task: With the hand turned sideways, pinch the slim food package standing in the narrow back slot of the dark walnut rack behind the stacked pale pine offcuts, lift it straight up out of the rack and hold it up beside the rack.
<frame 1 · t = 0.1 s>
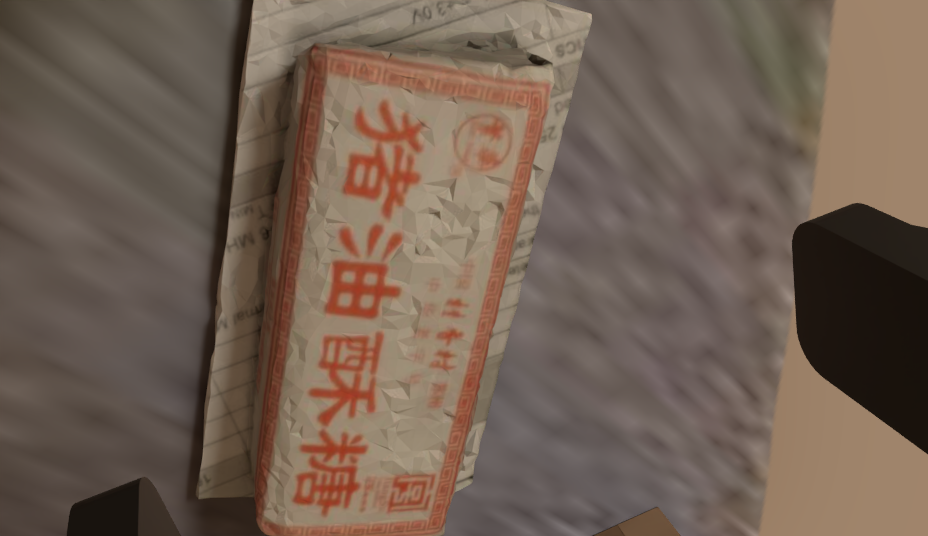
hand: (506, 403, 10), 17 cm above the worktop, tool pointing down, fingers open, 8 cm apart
packaged product: (372, 250, 29), on the worktop
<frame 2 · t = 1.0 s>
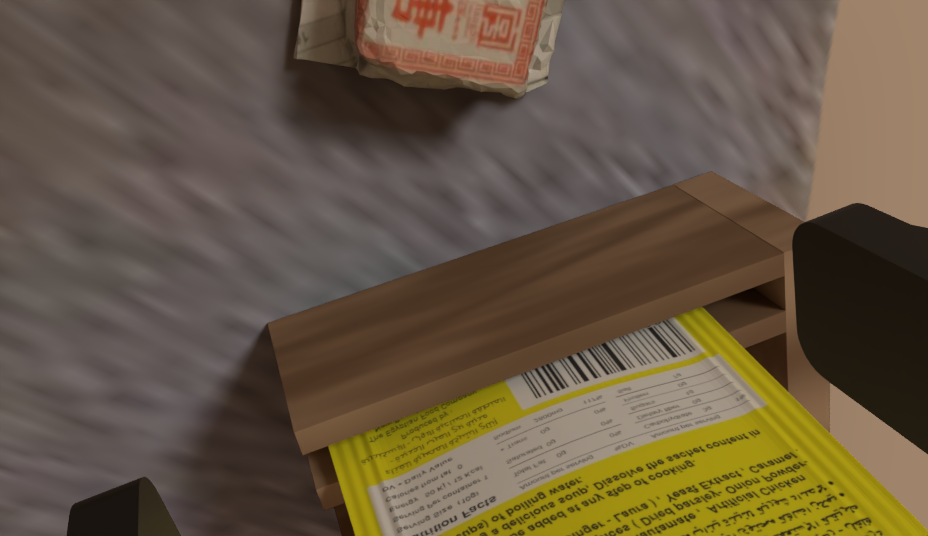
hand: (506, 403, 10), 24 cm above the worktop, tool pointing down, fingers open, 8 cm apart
food package: (462, 277, 38), resting in walnut rack
walnut rack: (500, 341, 40), on the worktop
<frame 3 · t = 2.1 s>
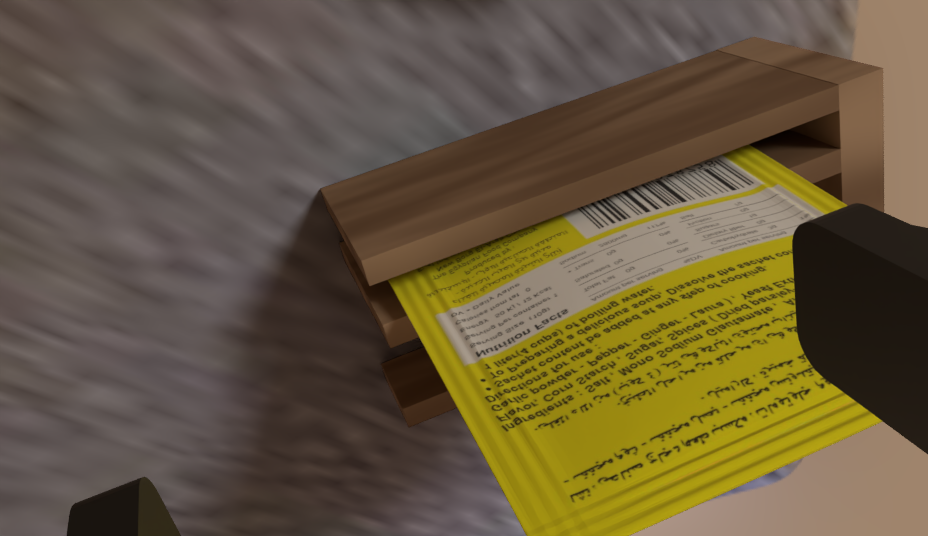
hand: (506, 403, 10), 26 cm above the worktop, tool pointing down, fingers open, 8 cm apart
food package: (510, 144, 38), resting in walnut rack
walnut rack: (548, 213, 40), on the worktop
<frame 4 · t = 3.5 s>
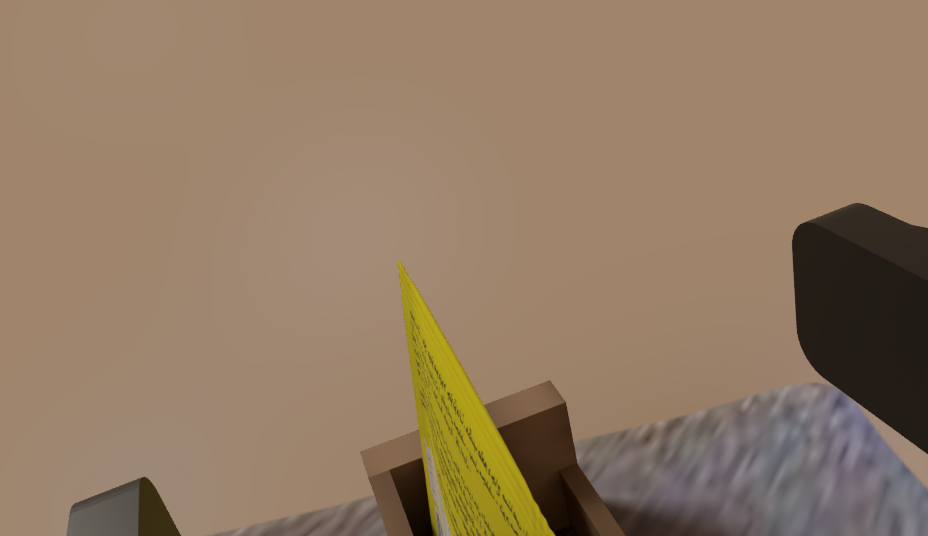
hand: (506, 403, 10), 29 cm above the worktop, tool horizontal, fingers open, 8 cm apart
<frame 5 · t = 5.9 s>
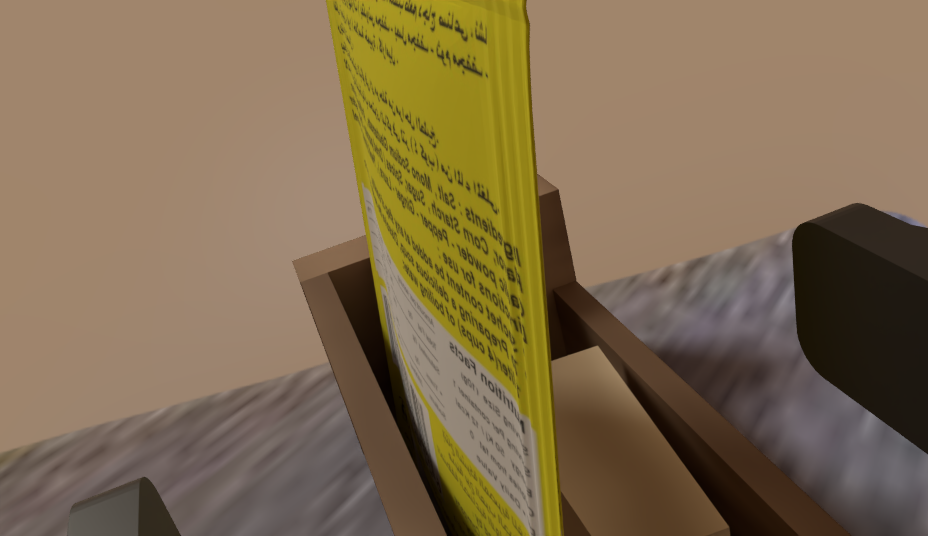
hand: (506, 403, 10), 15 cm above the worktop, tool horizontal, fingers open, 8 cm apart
upper pine offcut: (602, 507, 26), point 2 cm above the worktop
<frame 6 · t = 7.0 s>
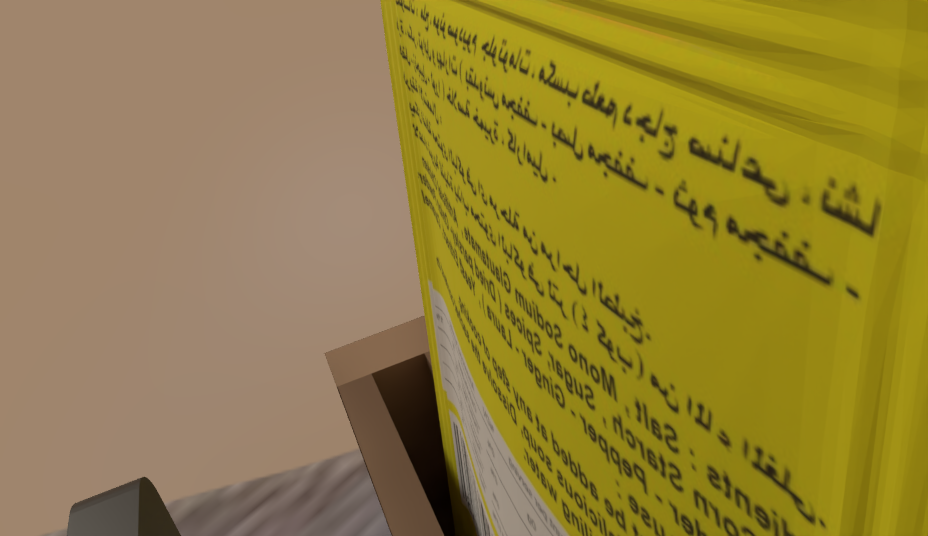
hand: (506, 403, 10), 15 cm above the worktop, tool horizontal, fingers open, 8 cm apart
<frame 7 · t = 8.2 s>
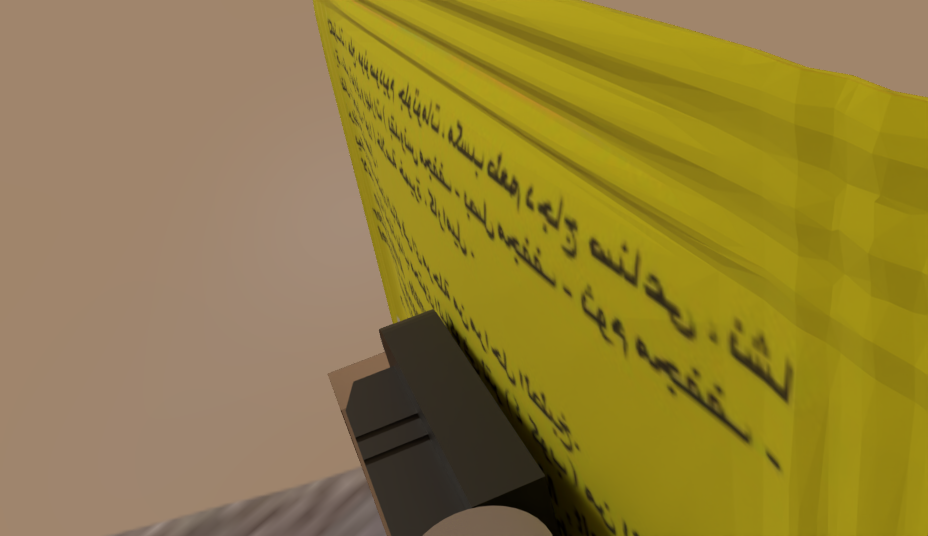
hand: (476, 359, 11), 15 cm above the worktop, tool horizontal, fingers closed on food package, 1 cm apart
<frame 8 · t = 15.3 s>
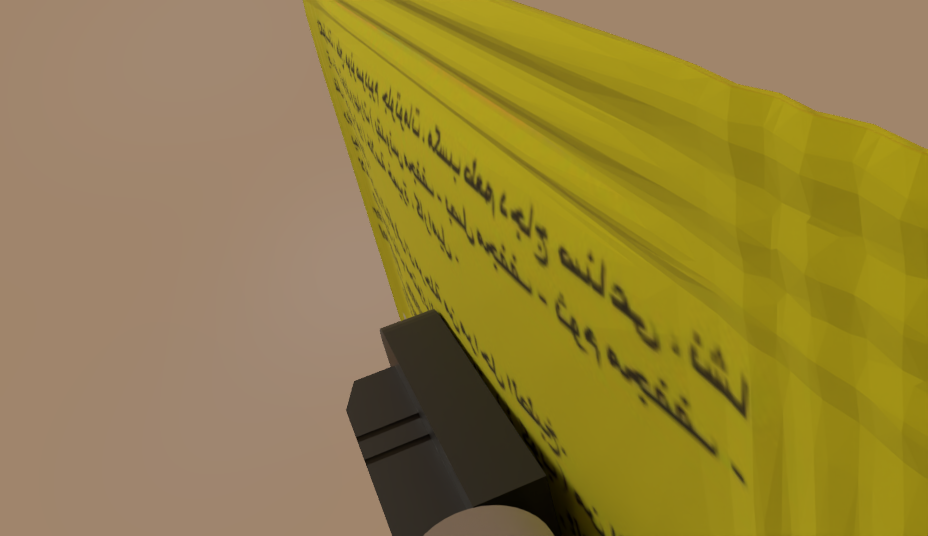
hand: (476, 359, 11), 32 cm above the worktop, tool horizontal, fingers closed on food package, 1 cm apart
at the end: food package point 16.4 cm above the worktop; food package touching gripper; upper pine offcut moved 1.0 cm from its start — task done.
